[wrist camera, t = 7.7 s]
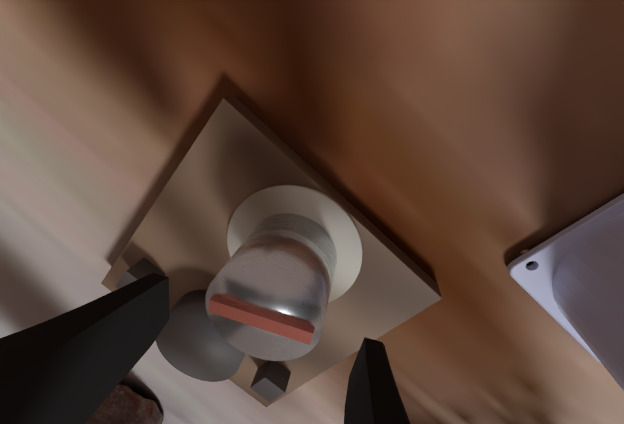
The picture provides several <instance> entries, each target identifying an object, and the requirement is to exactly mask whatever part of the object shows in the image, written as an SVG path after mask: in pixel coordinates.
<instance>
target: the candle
mask: <svg viewBox="0 0 624 424" xmlns="http://www.w3.org/2000/svg"><path fill="white" fill-rule="evenodd" d="M162 421H163V415H162V413H161V412H160V411H159V408H158V406H157V404H156V402H155V401H153V400H150V399H145V398H143V397H142V396H140V395H139V394H136V393H134V392H133V391H132V390H131V389H130V388H129V387H128V386H127V385H119V384H118V385H117V386H116V387H115V389H114V390H113V391H112V392H111V393H110V394H109V396H108V397H107V398H106V399H105V400H104V401H103V402H102V404H101V405H100V406H99V407H98V409H97V410H96V411H95V412H94V413H93V415H92V416H91V417H90V418H89V420H88V421H87V422H86V424H162Z"/></svg>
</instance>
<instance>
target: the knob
mask: <svg viewBox="0 0 624 424" xmlns="http://www.w3.org/2000/svg"><path fill="white" fill-rule="evenodd" d="M336 264H337V252H336V248H335V245H334V242H333V240H332V239H331V237H330V236H329V234H328V233H327V232H326V231H325V229H324V228H323V227H321V226H320V225H319V224H318V223H316V222H315V221H313V220H311V219H309V218H307V217H304V216H302V215H298V214H291V213H281V214H276V215H272V216H270V217H267V218H266V219H264V220H262V221H261V222H260V223H259V224H258V225H257V226H256V227H255V228H254V230H253V231H252V232H251V233H250V235H249V236H248V237H247V238H246V240H245V241H244V242H243V243H242V244H241V246H240V247H239V248H238V249H237V251H236V252H235V253H234V254H233V256H232V257H231V258H230V259H229V261H228V262H227V263H226V264H225V266H224V267H223V268H222V269H221V270H220V272H219V273H218V274H217V275H216V277H215V278H214V279H213V280H212V282H211V283H210V285H209V287H208V289H207V292H206V310H207V314H208V317H209V319H210V321H211V323H212V325H213V326H214V328H215V329H216V330H217V332H218V333H219V334H220V335H221V336H222V337H223V338H224V339H225V340H226V341H227V342H228V343H229V344H231V345H232V346H234V347H235V348H237V349H238V350H240V351H242V352H244V353H246V354H248V355H251V356H253V357H256V358H260V359H264V360H270V361H286V360H292V359H296V358H299V357H301V356H303V355H305V354H307V353H308V352H310V351H311V350H312V349H313V348H314V347H315V346H316V344H317V343H318V341H319V339H320V337H321V334H322V329H323V325H324V320H325V315H326V311H327V306H328V301H329V297H330V292H331V287H332V283H333V278H334V273H335V268H336Z"/></svg>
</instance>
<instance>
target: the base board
mask: <svg viewBox="0 0 624 424" xmlns="http://www.w3.org/2000/svg"><path fill="white" fill-rule="evenodd" d="M281 213H291V214H298V215H302V216H304V217H307V218H309V219H311V220H313V221H315V222H316V223H318V224H319V225H320V226H321V227H323V228H324V229H325V231H326V232H327V233H328V234H329V236H330V237H331V239H332V240H333V242H334V245H335V248H336V252H337V264H336V268H335V273H334V278H333V283H332V287H331V292H330V297H329V301H328V306H327V311H326V315H325V320H324V325H323V329H322V334H321V337H320V339H319V341H318V343H317V344H316V346H315V347H314V348H313V349H312V350H311V351H310V352H308V353H307V354H305V355H303V356H301V357H299V358H296V359H292V360H286V361H270V360H264V359H260V358H256V357H253V356H251V355H248V354H246V353H244V352H242V351H240V350H238V349H237V348H235V347H234V346H232V345H231V344H229V343H228V342H227V341H226V340H225V339H224V338H223V337H222V336H221V335H220V334H219V333H218V332H217V330H216V329H215V328H214V326H213V325H212V323H211V321H210V319H209V317H208V314H207V310H206V292H207V289H208V287H209V285H210V283H211V282H212V280H213V279H214V278H215V277H216V275H217V274H218V273H219V272H220V270H221V269H222V268H223V267H224V266H225V264H226V263H227V262H228V261H229V259H230V258H231V257H232V256H233V254H234V253H235V252H236V251H237V249H238V248H239V247H240V246H241V244H242V243H243V242H244V241H245V240H246V238H247V237H248V236H249V235H250V233H251V232H252V231H253V230H254V228H255V227H256V226H257V225H258V224H259V223H260V222H261V221H262V220H264V219H266V218H267V217H270V216H272V215H276V214H281ZM151 273H156V274H159V275H163V276H166V277H169V318H170V319H169V320H168V322H167V323H166V325H165V326H164V328H163V329H162V331H161V332H160V334H159V335H158V337H157V338H156V343H157V346H158V348H159V350H160V352H161V353H162V355H163V356H164V357H165V359H166V360H167V361H168V362H169V363H170V364H171V365H172V366H174V367H175V368H176V369H178V370H179V371H181V372H182V373H184V374H186V375H188V376H190V377H193V378H196V379H199V380H203V381H211V382H217V381H223V380H226V379H229V380H231V381H232V382H233V383H235V384H236V385H237V386H239V387H240V388H241V389H243V390H244V391H245V392H247V393H248V394H249V395H251V396H252V397H253V398H255V399H256V400H257V401H259V402H260V403H261V404H263V405H264V406H265V407H267V406H269V405H270V404H272V403H274V402H275V401H277V400H278V399H280V398H282V397H283V396H285V395H287V394H288V393H290V392H291V391H293V390H295V389H296V388H298V387H299V386H301V385H303V384H304V383H306V382H308V381H309V380H311V379H312V378H314V377H316V376H317V375H319V374H320V373H322V372H324V371H325V370H327V369H329V368H330V367H332V366H333V365H335V364H337V363H338V362H340V361H342V360H343V359H345V358H346V357H348V356H350V355H351V354H353V353H354V352H356V351H358V350H359V349H360V347H361V345H362V342H363V340H364V337H366V338H370V339H373V340H376V339H377V338H379V337H380V336H382V335H384V334H385V333H387V332H388V331H390V330H392V329H393V328H395V327H397V326H398V325H400V324H401V323H403V322H405V321H406V320H408V319H409V318H411V317H413V316H414V315H416V314H418V313H419V312H421V311H422V310H424V309H426V308H427V307H429V306H431V305H432V304H434V303H435V302H437V301H439V300H440V299H442V297H441V294H440V290H439V287H438V284H437V283H436V282H435V281H434V280H433V279H432V278H431V277H430V276H429V275H428V274H426V273H425V272H424V271H423V270H422V269H421V268H420V267H419V266H418V265H417V264H416V263H415V262H413V261H412V260H411V259H410V258H409V257H408V256H407V255H406V254H405V253H404V252H403V251H402V250H400V249H399V248H398V247H397V246H396V245H395V244H394V243H393V242H392V241H391V240H390V239H389V238H387V237H386V236H385V235H384V234H383V233H382V232H381V231H380V230H379V229H378V228H377V227H376V226H375V225H373V224H372V223H371V222H370V221H369V220H368V219H367V218H366V217H365V216H364V215H363V214H362V213H360V212H359V211H358V210H357V209H356V208H355V207H354V206H353V205H352V204H351V203H350V202H349V201H347V200H346V199H345V198H344V197H343V196H342V195H341V194H340V193H339V192H338V191H337V190H336V189H334V188H333V187H332V186H331V185H330V184H329V183H328V182H327V181H326V180H325V179H324V178H323V177H322V176H320V175H319V174H318V173H317V172H316V171H315V170H314V169H313V168H312V167H311V166H310V165H309V164H307V163H306V162H305V161H304V160H303V159H302V158H301V157H300V156H299V155H298V154H297V153H296V152H294V151H293V150H292V149H291V148H290V147H289V146H288V145H287V144H286V143H285V142H284V141H283V140H281V139H280V138H279V137H278V136H277V135H276V134H275V133H274V132H273V131H272V130H271V129H270V128H268V127H267V126H266V125H265V124H264V123H263V122H262V121H261V120H260V119H259V118H258V117H257V116H256V115H254V114H253V113H252V112H251V111H250V110H249V109H248V108H247V107H246V106H245V105H244V104H243V103H241V102H240V101H239V100H238V99H237V98H236V97H227V98H223V99H222V101H221V102H220V104H219V105H218V107H217V108H216V110H215V111H214V113H213V114H212V116H211V117H210V119H209V120H208V122H207V124H206V125H205V127H204V128H203V130H202V131H201V133H200V134H199V136H198V137H197V139H196V140H195V142H194V143H193V145H192V146H191V148H190V149H189V151H188V152H187V154H186V155H185V157H184V158H183V160H182V161H181V163H180V164H179V166H178V167H177V169H176V171H175V172H174V174H173V175H172V177H171V178H170V180H169V181H168V183H167V184H166V186H165V187H164V189H163V190H162V192H161V193H160V195H159V196H158V198H157V199H156V201H155V202H154V204H153V205H152V207H151V208H150V210H149V211H148V213H147V214H146V216H145V217H144V219H143V221H142V222H141V224H140V225H139V227H138V228H137V230H136V231H135V233H134V234H133V236H132V237H131V239H130V240H129V242H128V243H127V245H126V246H125V248H124V249H123V251H122V252H121V254H120V255H119V257H118V258H117V260H116V261H115V263H114V264H113V266H112V268H111V269H110V271H109V272H108V274H107V275H106V277H105V278H104V280H103V281H102V283H101V284H103V285H104V286H105V287H107V288H108V289H109V290H111V291H112V292H113V291H115V290H117V289H119V288H121V287H124V286H126V285H128V284H130V283H132V282H134V281H136V280H138V279H140V278H143V277H145V276H147V275H149V274H151Z"/></svg>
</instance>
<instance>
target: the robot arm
mask: <svg viewBox="0 0 624 424" xmlns="http://www.w3.org/2000/svg"><path fill="white" fill-rule="evenodd" d="M531 261H534V263H533V264H532V265H530V266H526V264H527V263H528V262H531ZM507 270H508V272H509V274H510V275H511V276H512V278H513V279H514V280H515V281H516V282H517V283H519V284H520V285H521V286H522V287H523V288H524V289H525V290H526V291H527V292H528V293H529V294H530V295H531V296H532V297H533V298H534V299H535V300H536V301H537V302H538V303H539V304H540V305H541V306H542V307H543V308H544V309H545V310H546V311H547V312H548V313H549V314H550V315H551V316H552V317H553V318H554V319H555V320H556V321H557V322H558V323H559V324H560V325H561V326H562V327H563V328H564V329H565V330H566V331H568V332H569V333H570V334H571V335H572V336H573V337H574V338H575V339H576V340H577V341H578V342H579V343H580V344H581V345H582V346H583V347H584V348H585V349H586V350H587V351H588V352H589V353H590V354H591V355H592V356H593V357H594V358H595V359H596V360H597V361H598V362H599V363H601V364H603V365H604V367H605V368H606V369H607V370H608V372H609V373H610V374H611V375H612V377H613V378H614V379H615V381H616V382H617V383H618V384H619V386H620V387H621V388H622V389H623V391H624V193H623V194H622V195H620V196H618V197H617V198H615V199H613V200H612V201H610V202H608V203H607V204H605V205H603V206H602V207H600V208H599V209H597V210H595V211H594V212H592V213H590V214H589V215H587V216H585V217H584V218H582V219H580V220H579V221H577V222H576V223H574V224H572V225H571V226H569V227H567V228H566V229H564V230H562V231H561V232H559V233H557V234H556V235H554V236H553V237H551V238H549V239H548V240H546V241H544V242H543V243H541V244H539V245H538V246H536V247H534V248H533V249H531V250H530V251H528V252H526V253H525V254H523V255H521V256H520V257H518V258H516V259H515V260H513V261H512V262H511V263H509V265H508V267H507ZM169 319H170V318H169V277H166V276H163V275H159V274H156V273H151V274H149V275H147V276H145V277H143V278H140V279H138V280H136V281H134V282H132V283H130V284H128V285H126V286H124V287H121V288H119V289H117V290H115V291H113V292H111V293H109V294H107V295H105V296H102V297H100V298H98V299H96V300H94V301H92V302H89V303H87V304H85V305H83V306H81V307H78V308H76V309H74V310H71V311H69V312H66V313H64V314H62V315H59V316H57V317H55V318H52V319H50V320H48V321H45V322H43V323H40V324H38V325H35V326H33V327H30V328H28V329H25V330H22V331H20V332H17V333H14V334H11V335H8V336H6V337H3V338H0V424H86V422H87V421H88V420H89V418H90V417H91V416H92V415H93V413H94V412H95V411H96V410H97V409H98V407H99V406H100V405H101V404H102V402H103V401H104V400H105V399H106V398H107V397H108V396H109V394H110V393H111V392H112V391H113V390H114V389H115V387H116V386H117V385H118V384H119V383H120V382H121V380H122V379H123V378H124V377H125V376H126V375H127V374H128V372H129V371H130V370H131V369H132V368H133V367H134V365H135V364H136V363H137V362H138V361H139V360H140V358H141V357H142V356H143V355H144V354H145V352H146V351H147V350H148V349H149V348H150V346H151V345H152V344H153V343H154V341H155V340H156V338H157V337H158V335H159V334H160V332H161V331H162V329H163V328H164V326H165V325H166V323H167V322H168V320H169ZM344 424H410V421H409V419H408V416H407V413H406V411H405V408H404V405H403V403H402V400H401V397H400V395H399V392H398V389H397V386H396V383H395V380H394V377H393V374H392V371H391V367H390V364H389V361H388V357H387V354H386V350H385V346H384V344H383V343H382V342H380V341H376V340H373V339H370V338H366V337H364V340H363V342H362V345H361V347H360V350H359V352H358V355H357V358H356V360H355V363H354V365H353V368H352V371H351V373H350V376H349V382H348V389H347V396H346V403H345V415H344Z"/></svg>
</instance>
